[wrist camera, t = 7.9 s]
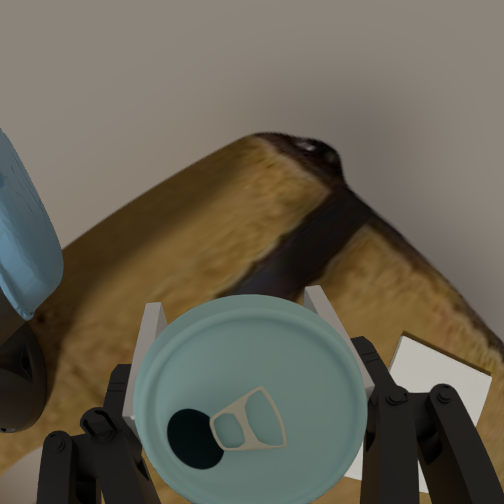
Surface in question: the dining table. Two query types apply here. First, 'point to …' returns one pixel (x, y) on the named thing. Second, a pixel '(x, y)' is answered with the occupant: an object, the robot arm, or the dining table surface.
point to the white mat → (431, 385)
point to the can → (250, 403)
